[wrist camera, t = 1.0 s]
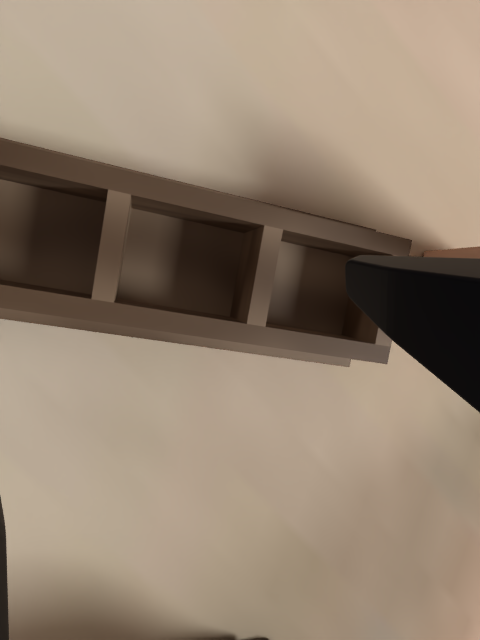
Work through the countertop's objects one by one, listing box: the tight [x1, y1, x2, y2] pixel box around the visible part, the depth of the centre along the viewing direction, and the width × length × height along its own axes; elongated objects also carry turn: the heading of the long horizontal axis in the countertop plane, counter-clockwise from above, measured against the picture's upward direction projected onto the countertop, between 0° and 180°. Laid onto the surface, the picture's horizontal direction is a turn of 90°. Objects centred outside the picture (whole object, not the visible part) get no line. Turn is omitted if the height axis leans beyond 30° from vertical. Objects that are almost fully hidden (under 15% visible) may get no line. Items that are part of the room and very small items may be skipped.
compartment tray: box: [0, 138, 412, 367], centre depth 22 cm, size 9×24×5 cm, turn 79°
